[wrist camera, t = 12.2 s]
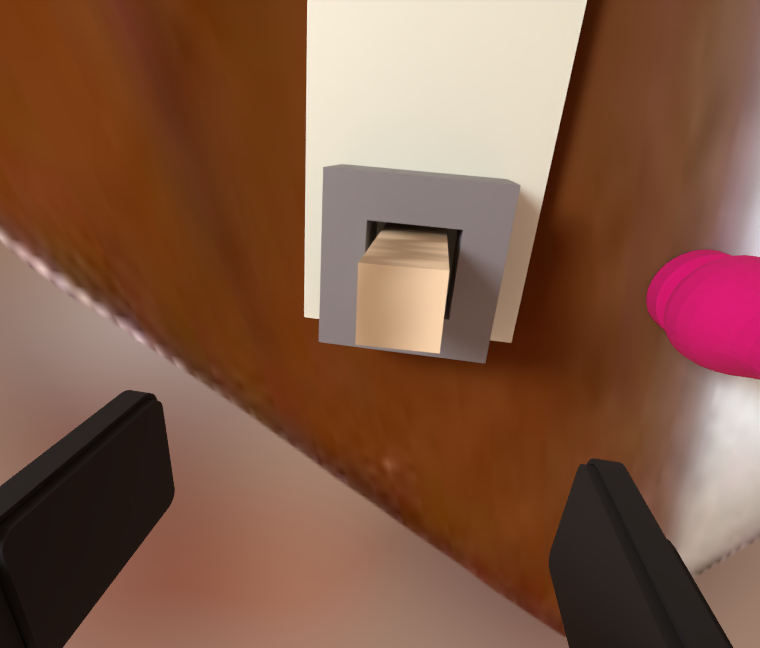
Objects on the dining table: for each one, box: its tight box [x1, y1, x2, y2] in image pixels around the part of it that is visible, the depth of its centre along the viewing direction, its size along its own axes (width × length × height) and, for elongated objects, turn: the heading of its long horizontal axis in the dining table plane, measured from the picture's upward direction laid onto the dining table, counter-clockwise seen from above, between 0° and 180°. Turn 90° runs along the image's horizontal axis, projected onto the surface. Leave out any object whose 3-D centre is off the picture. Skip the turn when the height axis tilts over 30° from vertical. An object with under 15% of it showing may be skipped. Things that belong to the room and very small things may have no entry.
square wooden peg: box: [355, 222, 450, 354], centre depth 25 cm, size 4×4×12 cm
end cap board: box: [304, 0, 587, 363], centre depth 26 cm, size 16×24×6 cm, turn 176°
